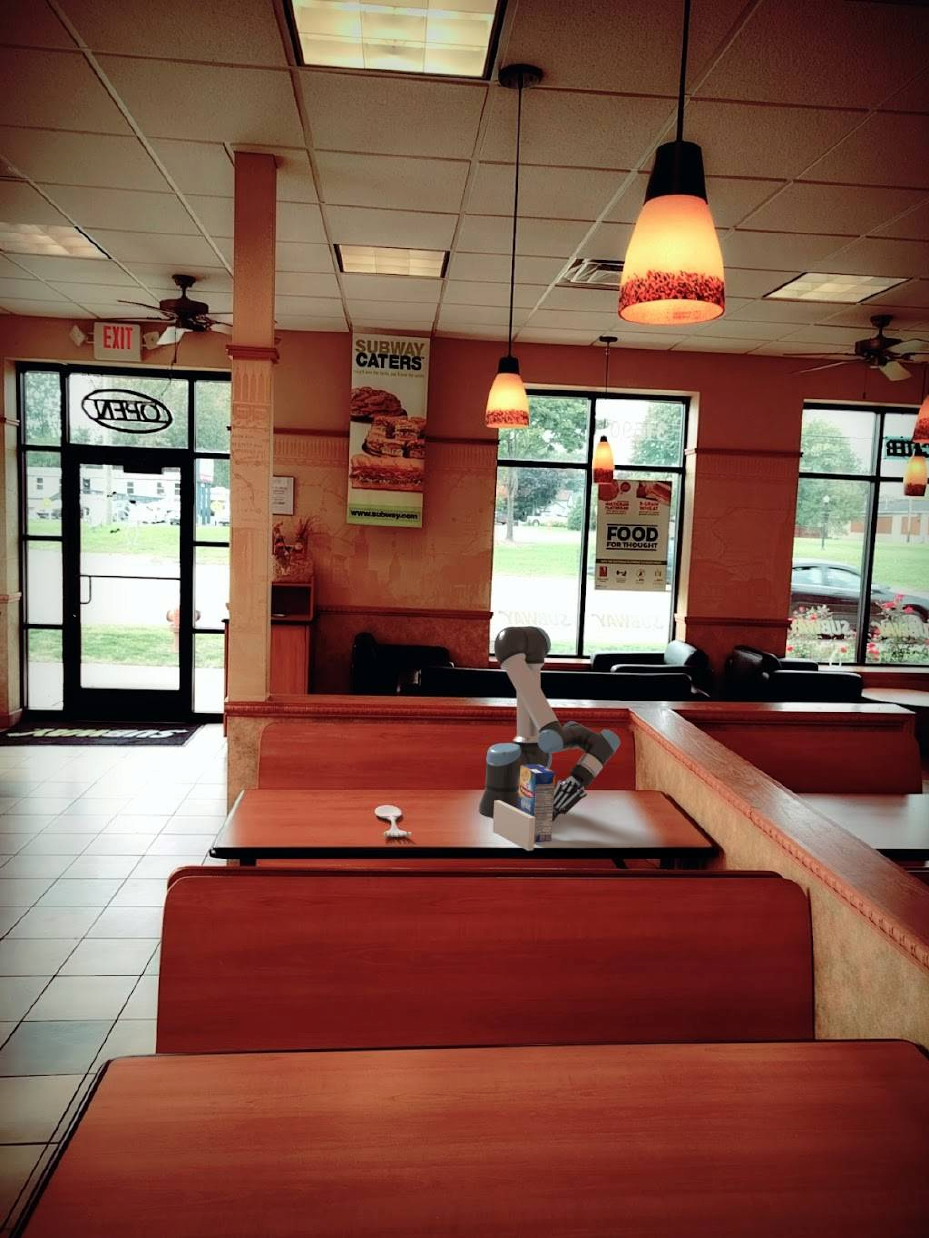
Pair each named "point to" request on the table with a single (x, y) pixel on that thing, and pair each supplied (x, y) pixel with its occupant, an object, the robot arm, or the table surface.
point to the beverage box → (538, 798)
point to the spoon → (391, 814)
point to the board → (514, 825)
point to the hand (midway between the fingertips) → (542, 826)
